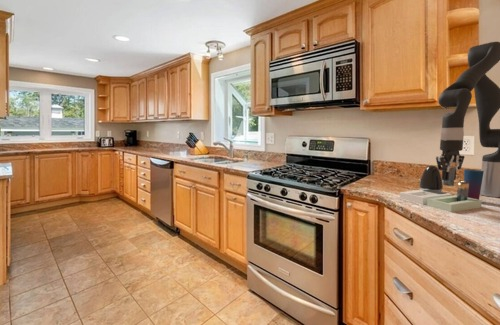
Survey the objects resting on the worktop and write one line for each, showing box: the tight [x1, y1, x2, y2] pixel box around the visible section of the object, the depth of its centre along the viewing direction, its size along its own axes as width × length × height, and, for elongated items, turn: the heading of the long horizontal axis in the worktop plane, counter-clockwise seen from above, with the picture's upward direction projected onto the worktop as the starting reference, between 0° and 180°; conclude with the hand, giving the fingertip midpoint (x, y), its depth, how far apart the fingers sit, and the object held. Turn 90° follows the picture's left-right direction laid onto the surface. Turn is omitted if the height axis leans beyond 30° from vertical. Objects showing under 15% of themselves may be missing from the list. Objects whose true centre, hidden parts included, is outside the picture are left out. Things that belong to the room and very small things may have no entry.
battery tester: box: [399, 189, 453, 205], centre depth 125 cm, size 18×12×4 cm, turn 108°
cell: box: [442, 162, 456, 187], centre depth 110 cm, size 4×4×11 cm
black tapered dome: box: [418, 165, 444, 192], centre depth 137 cm, size 10×10×15 cm
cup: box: [463, 168, 484, 200], centre depth 120 cm, size 7×7×15 cm
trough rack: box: [426, 194, 483, 213], centre depth 113 cm, size 18×10×4 cm, turn 108°
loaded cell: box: [456, 180, 469, 202], centre depth 114 cm, size 4×4×11 cm
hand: (448, 179), depth 111 cm, fingers closed on cell, 3 cm apart
